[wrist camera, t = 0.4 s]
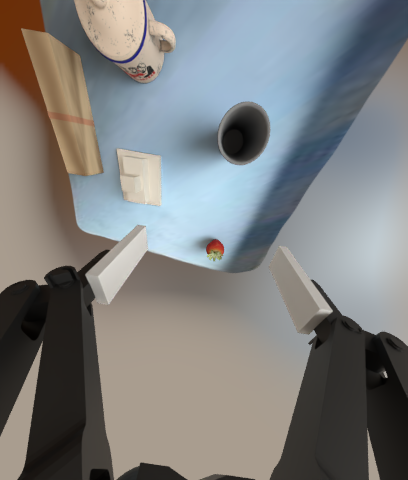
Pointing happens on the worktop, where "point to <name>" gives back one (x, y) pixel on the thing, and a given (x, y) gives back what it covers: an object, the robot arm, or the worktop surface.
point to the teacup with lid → (127, 35)
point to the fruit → (215, 249)
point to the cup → (243, 133)
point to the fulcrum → (140, 176)
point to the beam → (65, 101)
